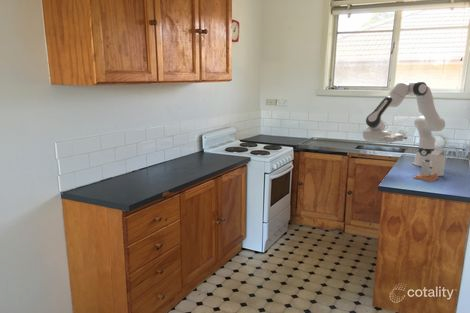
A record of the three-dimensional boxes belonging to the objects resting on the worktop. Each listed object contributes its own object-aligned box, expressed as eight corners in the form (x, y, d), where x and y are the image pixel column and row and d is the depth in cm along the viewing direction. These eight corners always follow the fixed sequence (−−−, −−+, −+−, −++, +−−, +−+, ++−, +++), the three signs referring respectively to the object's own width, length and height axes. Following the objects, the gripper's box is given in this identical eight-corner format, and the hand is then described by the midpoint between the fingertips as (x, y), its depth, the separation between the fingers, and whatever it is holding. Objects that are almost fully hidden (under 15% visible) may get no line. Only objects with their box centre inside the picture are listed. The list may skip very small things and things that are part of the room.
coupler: (419, 175, 272) (420, 169, 271) (438, 178, 264) (438, 172, 263) (413, 178, 262) (413, 172, 261) (432, 181, 254) (433, 175, 253)
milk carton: (435, 176, 269) (438, 149, 266) (427, 174, 276) (430, 148, 272) (443, 176, 271) (446, 149, 267) (435, 173, 278) (439, 147, 274)
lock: (422, 175, 266) (424, 158, 263) (431, 177, 262) (433, 160, 260) (420, 177, 262) (422, 159, 260) (429, 178, 258) (431, 161, 256)
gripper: (380, 134, 273) (400, 136, 264) (390, 131, 288) (409, 132, 279) (379, 143, 274) (399, 145, 265) (389, 139, 289) (409, 141, 280)
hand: (404, 138), depth 272 cm, fingers open, 8 cm apart
